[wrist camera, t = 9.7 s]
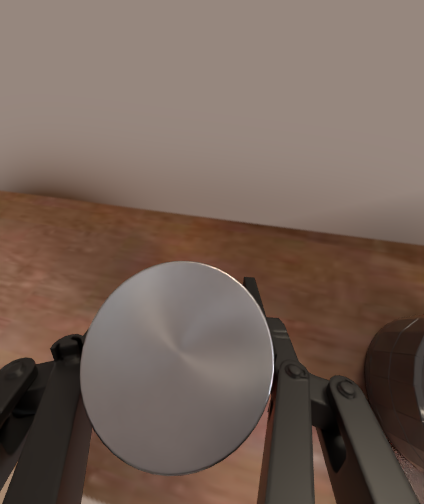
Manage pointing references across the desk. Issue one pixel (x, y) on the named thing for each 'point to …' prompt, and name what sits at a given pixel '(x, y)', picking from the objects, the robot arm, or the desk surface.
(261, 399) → the tomato can
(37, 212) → the desk surface
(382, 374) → the skillet
